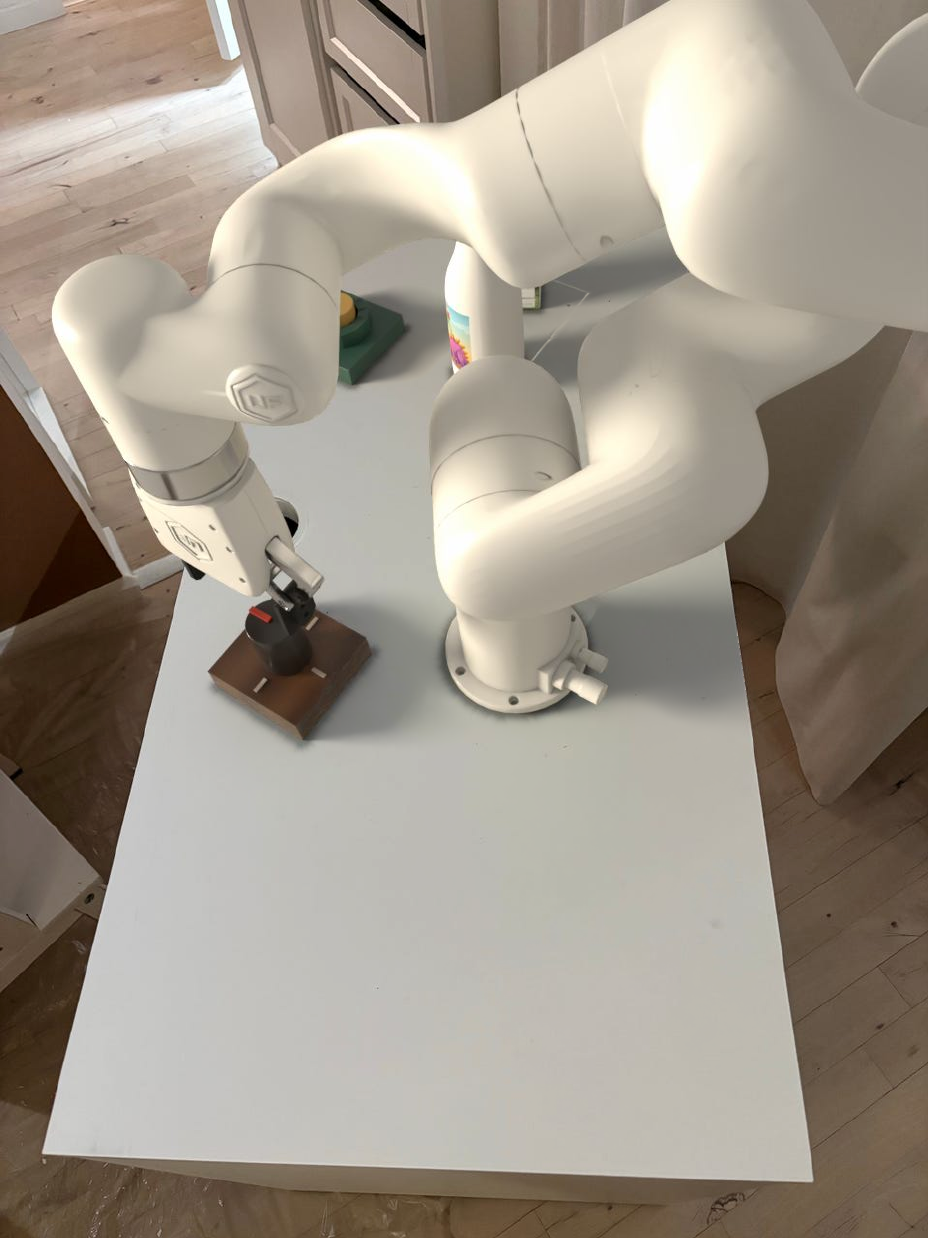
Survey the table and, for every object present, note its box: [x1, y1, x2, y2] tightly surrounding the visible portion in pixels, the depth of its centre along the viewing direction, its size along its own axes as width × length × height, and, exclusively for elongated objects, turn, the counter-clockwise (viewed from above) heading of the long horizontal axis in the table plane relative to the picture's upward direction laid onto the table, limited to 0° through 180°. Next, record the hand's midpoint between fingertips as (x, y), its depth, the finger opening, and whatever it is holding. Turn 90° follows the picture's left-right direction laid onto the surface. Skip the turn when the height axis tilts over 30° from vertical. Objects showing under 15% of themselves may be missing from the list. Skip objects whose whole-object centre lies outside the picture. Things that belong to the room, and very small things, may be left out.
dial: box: [244, 598, 312, 676], centre depth 80 cm, size 4×4×6 cm
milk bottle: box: [444, 241, 525, 374], centre depth 95 cm, size 8×8×20 cm
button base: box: [338, 289, 406, 386], centre depth 106 cm, size 10×10×4 cm
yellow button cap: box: [340, 293, 356, 328], centre depth 104 cm, size 4×4×2 cm
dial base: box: [207, 597, 372, 741], centre depth 84 cm, size 10×10×3 cm
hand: (253, 593), depth 75 cm, fingers open, 9 cm apart
